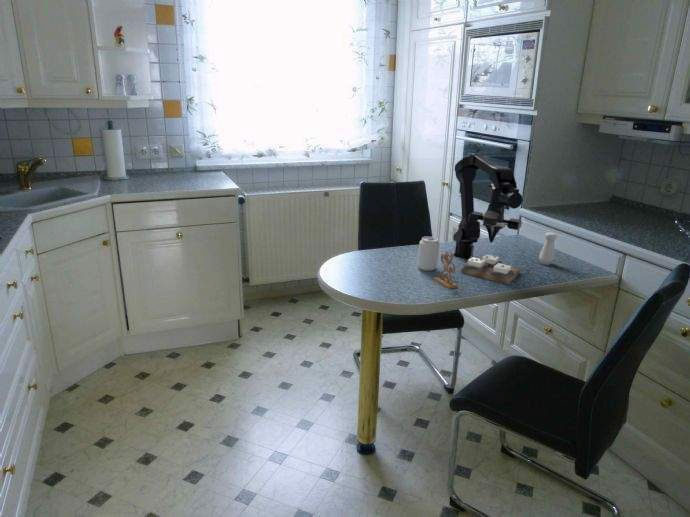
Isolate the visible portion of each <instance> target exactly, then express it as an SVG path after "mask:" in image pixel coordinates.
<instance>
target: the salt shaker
mask: <svg viewBox="0 0 690 517" xmlns="http://www.w3.org/2000/svg"><path fill="white" fill-rule="evenodd" d="M544 238H545V242H544V244H543V246H542V249H541V250H540V253H539V255H538V258H539V263H540V264H541V263H542V264H541V265H543V266H550V265H552V263H553V262H554V261H555V241H556V239H557V234H556V233H554V232H551V231H550V232H546V233H545V234H544Z"/></svg>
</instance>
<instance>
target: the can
mask: <svg viewBox="0 0 690 517" xmlns="http://www.w3.org/2000/svg"><path fill="white" fill-rule="evenodd" d="M440 245H441V244H440V242H439V239H438V238H437V237H434V236H423V237H421V240H420V241H419V245H418V254H417V263H416V265H417V267H418V268H419V270H422V271H425V272H432V271H434V270H436V269H437V267H438V259H439V252H440Z"/></svg>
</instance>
